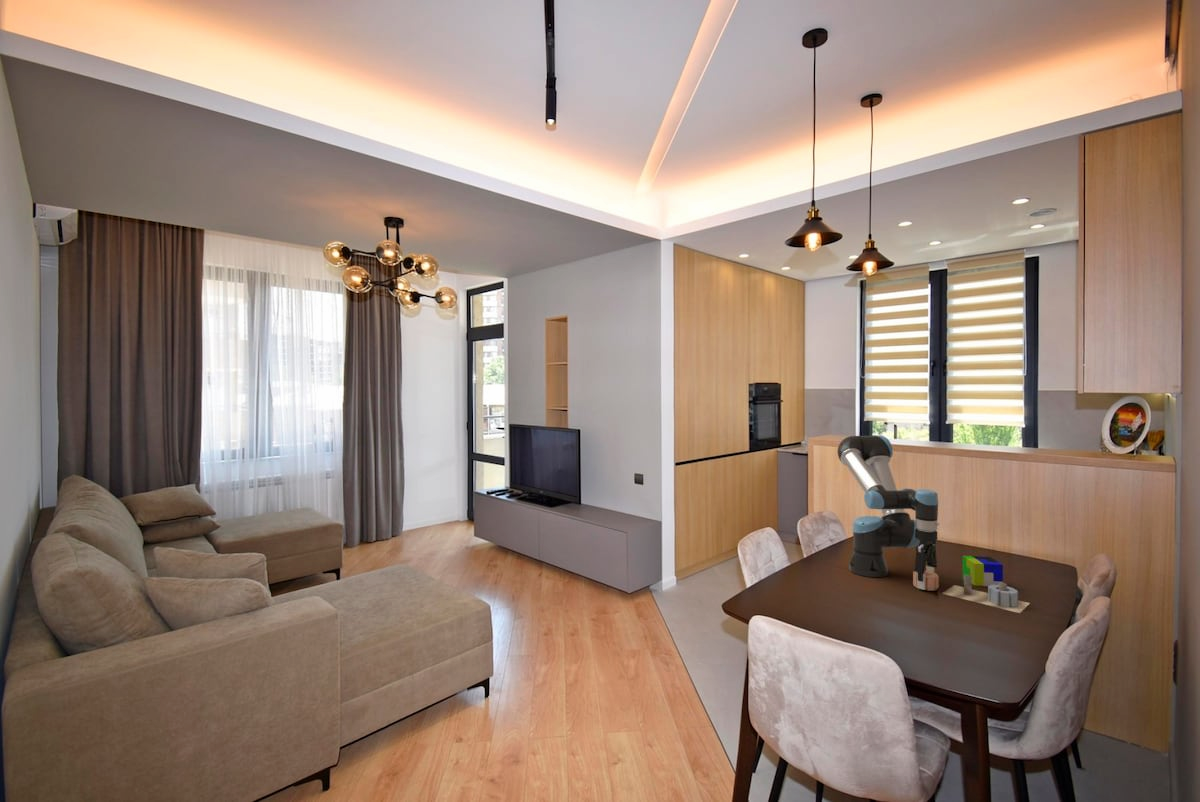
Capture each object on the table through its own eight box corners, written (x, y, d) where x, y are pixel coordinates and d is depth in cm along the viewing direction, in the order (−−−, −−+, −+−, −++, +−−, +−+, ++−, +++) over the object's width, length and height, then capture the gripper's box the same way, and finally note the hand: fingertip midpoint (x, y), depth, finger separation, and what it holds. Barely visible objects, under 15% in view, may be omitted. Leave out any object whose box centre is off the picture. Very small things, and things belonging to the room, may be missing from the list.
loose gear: (910, 586, 214) (910, 573, 214) (918, 580, 220) (918, 568, 219) (933, 592, 208) (933, 579, 208) (941, 586, 213) (941, 574, 213)
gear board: (942, 596, 205) (942, 575, 205) (954, 588, 213) (954, 567, 213) (1019, 616, 186) (1019, 593, 186) (1029, 606, 195) (1029, 584, 194)
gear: (990, 604, 194) (990, 591, 194) (986, 596, 201) (986, 583, 201) (1019, 608, 190) (1019, 594, 190) (1014, 600, 197) (1014, 587, 197)
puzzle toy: (1002, 590, 211) (1002, 564, 210) (974, 588, 213) (974, 563, 212) (989, 581, 220) (989, 556, 220) (962, 579, 222) (962, 555, 222)
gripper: (926, 536, 203) (925, 595, 204) (946, 526, 217) (946, 581, 218) (905, 532, 209) (904, 589, 210) (926, 522, 222) (925, 576, 223)
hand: (925, 585), depth 214 cm, fingers closed on loose gear, 8 cm apart
